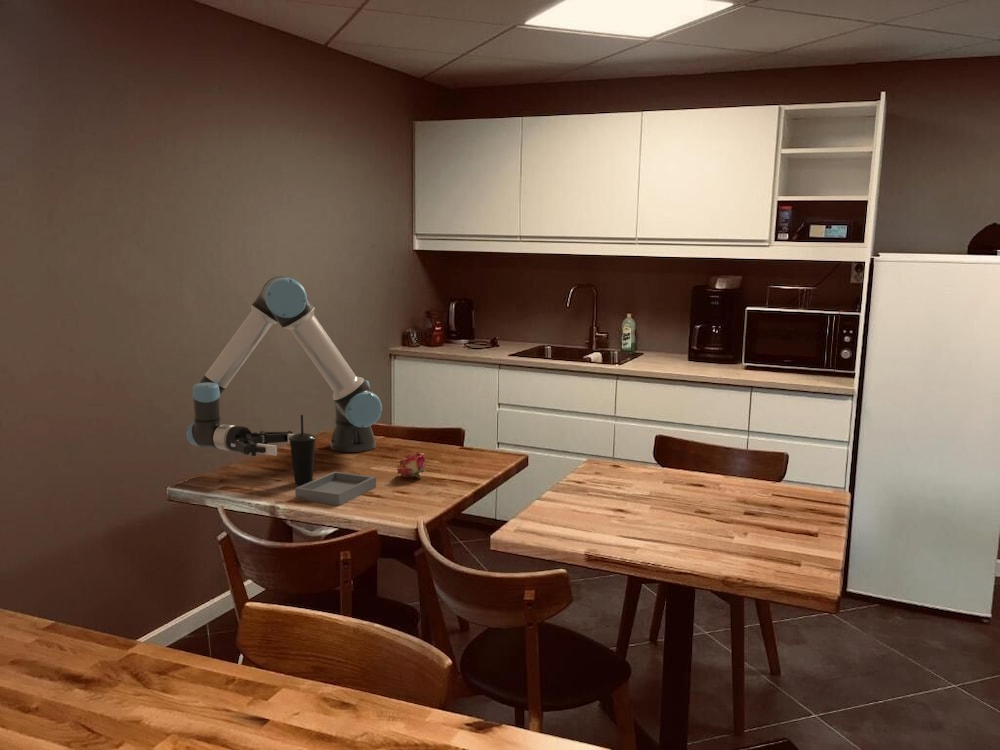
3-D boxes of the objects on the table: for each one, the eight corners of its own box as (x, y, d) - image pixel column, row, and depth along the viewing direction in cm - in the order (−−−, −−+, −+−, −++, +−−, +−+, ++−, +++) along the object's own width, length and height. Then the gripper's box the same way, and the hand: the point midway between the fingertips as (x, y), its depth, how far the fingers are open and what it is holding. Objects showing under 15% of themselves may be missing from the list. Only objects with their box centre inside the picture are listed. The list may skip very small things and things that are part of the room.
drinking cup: (310, 487, 224) (308, 418, 221) (285, 486, 226) (283, 417, 223) (321, 480, 231) (320, 413, 228) (297, 478, 233) (295, 411, 230)
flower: (438, 471, 236) (427, 447, 238) (423, 472, 227) (411, 447, 230) (413, 486, 239) (402, 462, 241) (397, 488, 231) (386, 463, 233)
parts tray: (334, 481, 230) (334, 471, 230) (376, 487, 225) (375, 477, 224) (295, 498, 214) (295, 488, 213) (339, 505, 209) (339, 494, 208)
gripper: (262, 441, 248) (318, 448, 239) (203, 460, 225) (263, 468, 217) (261, 418, 247) (317, 424, 238) (201, 434, 224) (262, 441, 216)
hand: (291, 445), depth 228 cm, fingers open, 13 cm apart
